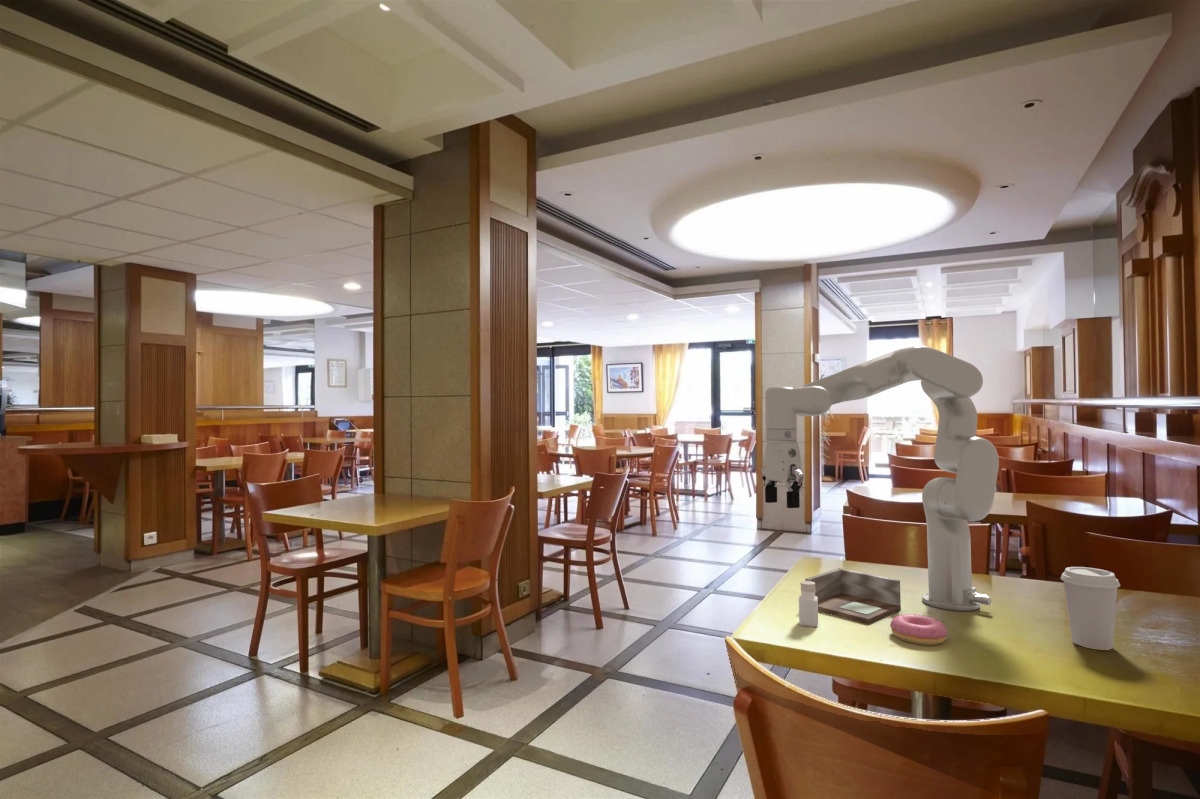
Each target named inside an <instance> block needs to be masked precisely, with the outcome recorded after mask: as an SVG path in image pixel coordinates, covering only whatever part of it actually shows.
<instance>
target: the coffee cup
mask: <svg viewBox="0 0 1200 799" xmlns="http://www.w3.org/2000/svg"><path fill="white" fill-rule="evenodd" d="M1060 580H1061V581H1063V584H1064V585H1063V586H1064V592H1065V593H1064V594H1065V599H1066V605H1067V614H1068V620H1069V621H1068V622H1069V627H1070V632H1071V633H1070V634H1071V642H1072V643H1073V642H1074V643H1075V644H1078V645H1080V646H1084V647H1088V648H1095V649H1112V648H1113V649H1114V639H1115V623H1116V611H1117V610H1116V608H1117V598H1118V596H1117V594H1118V593H1117V592H1118V588H1121V584H1120V582H1119V579H1118V578H1116V575H1115V573H1114V572H1112V571H1109V570H1106V569H1105V570H1104V569H1100V568H1094V567H1085V566H1070V567H1069V566H1068V567H1065V569H1064V572H1062V573H1061V576H1060ZM1074 643H1073V644H1074ZM1075 644H1074V645H1075ZM1080 646H1079V647H1080ZM1113 649H1112V650H1113Z"/></svg>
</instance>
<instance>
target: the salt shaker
mask: <svg viewBox="0 0 1200 799" xmlns="http://www.w3.org/2000/svg"><path fill="white" fill-rule="evenodd" d="M798 616H799V617H798V619H799V620H798V622H799V625H800V626H802V627H803V626H804V627H810V626H811V627H812V628H817V627H818V625H819V611H818V597H817V596H815V583H814V582H812V581H805V580H802V581H800V595H799V596H798Z"/></svg>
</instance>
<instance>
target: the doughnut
mask: <svg viewBox="0 0 1200 799" xmlns="http://www.w3.org/2000/svg"><path fill="white" fill-rule="evenodd" d="M889 625H890V629H891V633H892V634H893V636H894V637H896V638H898V639H899V640H901V641H903V642H906V643H910V644H914V645H921V646H936V645H940V644H942V643H944V642H945V641H946V640H947V635H948V629H947V628H948V627H946V626H945V624H944V623H943V622H942V621H940V620H939V619H936V618H933V617H931V616H926V615H922V614H918V613H917V614H916V613H906V614H904V613H903V614H900V615H899V614H898V615H896V616H895V617H893V618H892V619H891V621H890V623H889Z"/></svg>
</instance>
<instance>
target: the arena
mask: <svg viewBox="0 0 1200 799" xmlns="http://www.w3.org/2000/svg"><path fill="white" fill-rule="evenodd" d="M804 581H812V582H814V583H815V596H817V597H818V612H819V611H820V613H823V612H824V614H827V613H828V615H831V614H832V615H831V616H834V615H835V617H838V618H841V619H842V618H843V619H845V620H850V621H854V622H858V623H861V624H865V625H870V624H872V623H873V624H874V623H875V622H877V621H879V620H882V619H884V618H886V617H888V616H891V615H892V614H895V613H897V612H899V611H901V609H902V608H901V604H902V603H901V601H902V600H901V580H900V579H895V578H890V577H886V576H882V575H881V576H880V575H876V574H870V573H864V572H861V571H855V570H849V569H844V568H836V569H832V570H829V571H826V572H822V573H820V574H816V575H814V576H810V577H807V578H805V580H804Z"/></svg>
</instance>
